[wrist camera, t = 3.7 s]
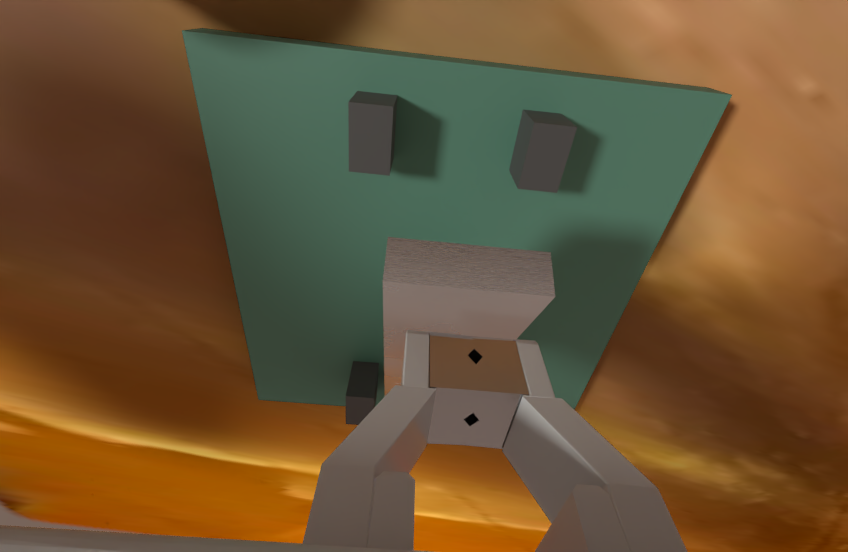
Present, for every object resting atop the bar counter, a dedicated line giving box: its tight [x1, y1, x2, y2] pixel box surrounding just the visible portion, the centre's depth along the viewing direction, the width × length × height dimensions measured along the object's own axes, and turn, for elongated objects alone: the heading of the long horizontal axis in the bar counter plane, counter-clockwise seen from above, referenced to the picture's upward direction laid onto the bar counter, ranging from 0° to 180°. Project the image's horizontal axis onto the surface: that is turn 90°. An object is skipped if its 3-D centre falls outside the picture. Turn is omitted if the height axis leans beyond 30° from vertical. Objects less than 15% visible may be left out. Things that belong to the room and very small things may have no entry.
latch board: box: [182, 28, 732, 425], centre depth 20 cm, size 20×20×4 cm
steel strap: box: [383, 237, 555, 396], centre depth 17 cm, size 4×16×2 cm, turn 174°
